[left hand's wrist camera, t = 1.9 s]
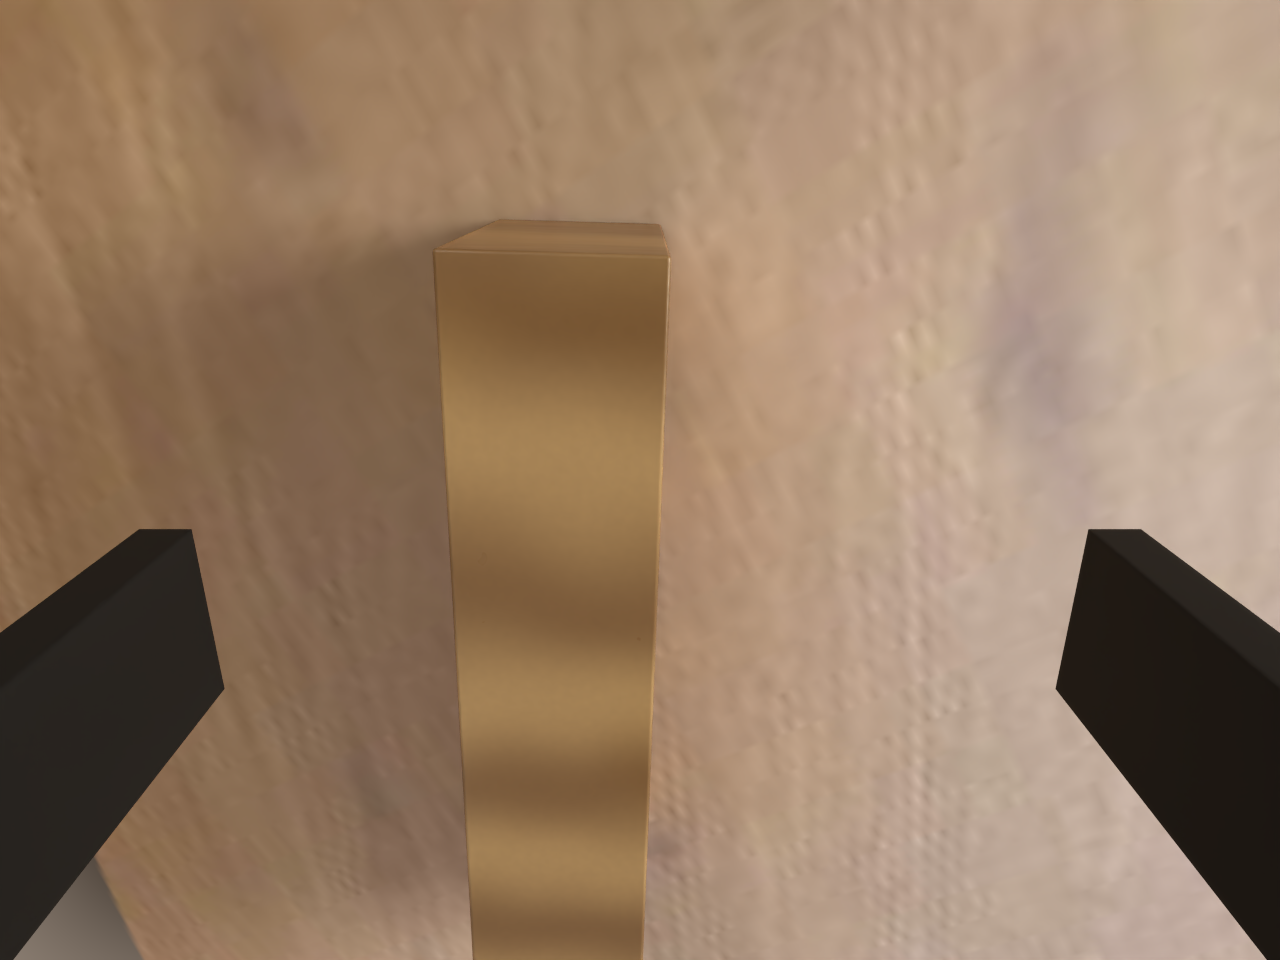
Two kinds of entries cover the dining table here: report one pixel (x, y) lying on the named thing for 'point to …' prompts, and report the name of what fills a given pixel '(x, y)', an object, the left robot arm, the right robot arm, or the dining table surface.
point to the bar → (554, 571)
